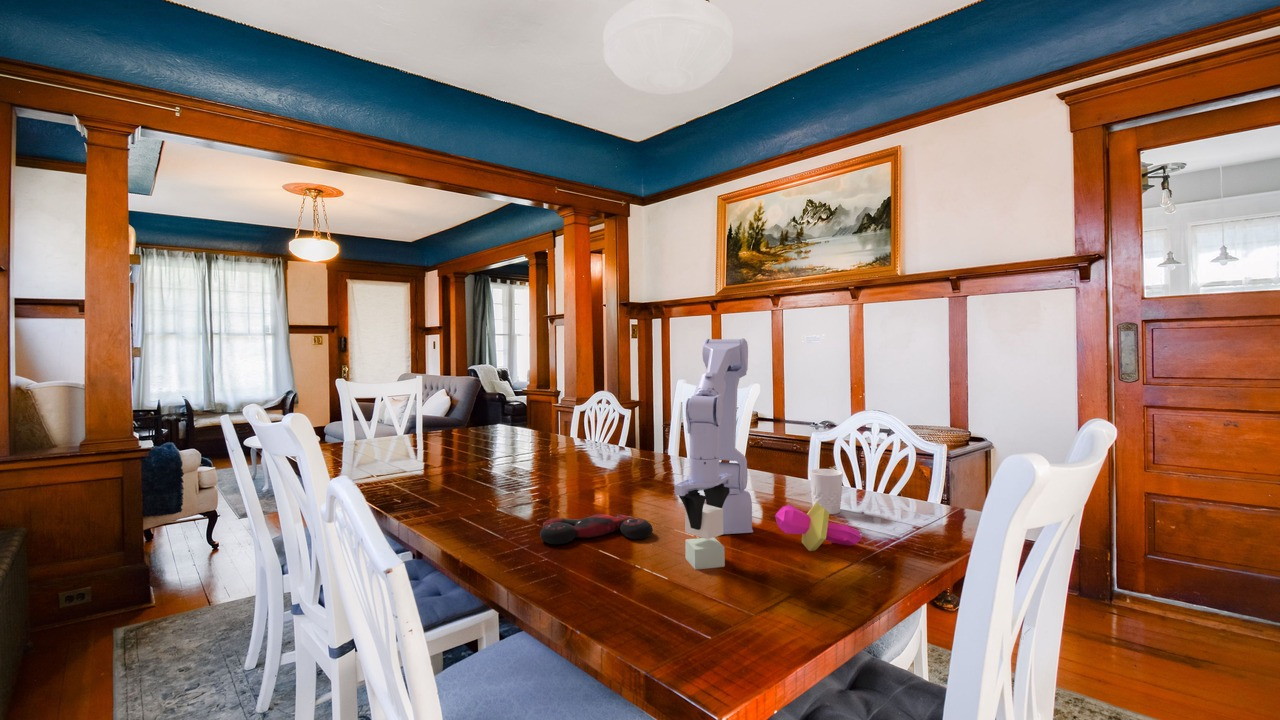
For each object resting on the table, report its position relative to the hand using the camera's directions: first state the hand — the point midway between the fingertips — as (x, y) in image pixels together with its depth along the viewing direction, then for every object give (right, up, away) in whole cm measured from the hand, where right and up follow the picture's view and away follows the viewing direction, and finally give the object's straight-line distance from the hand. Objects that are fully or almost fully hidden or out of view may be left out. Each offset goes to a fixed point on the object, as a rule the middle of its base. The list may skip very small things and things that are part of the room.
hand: (704, 525), depth 115 cm
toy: (+24, -7, +8) cm, 27 cm away
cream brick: (0, -2, 0) cm, 2 cm away
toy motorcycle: (-23, -8, +19) cm, 31 cm away
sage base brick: (0, -7, 0) cm, 7 cm away
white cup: (+35, -6, +35) cm, 50 cm away
